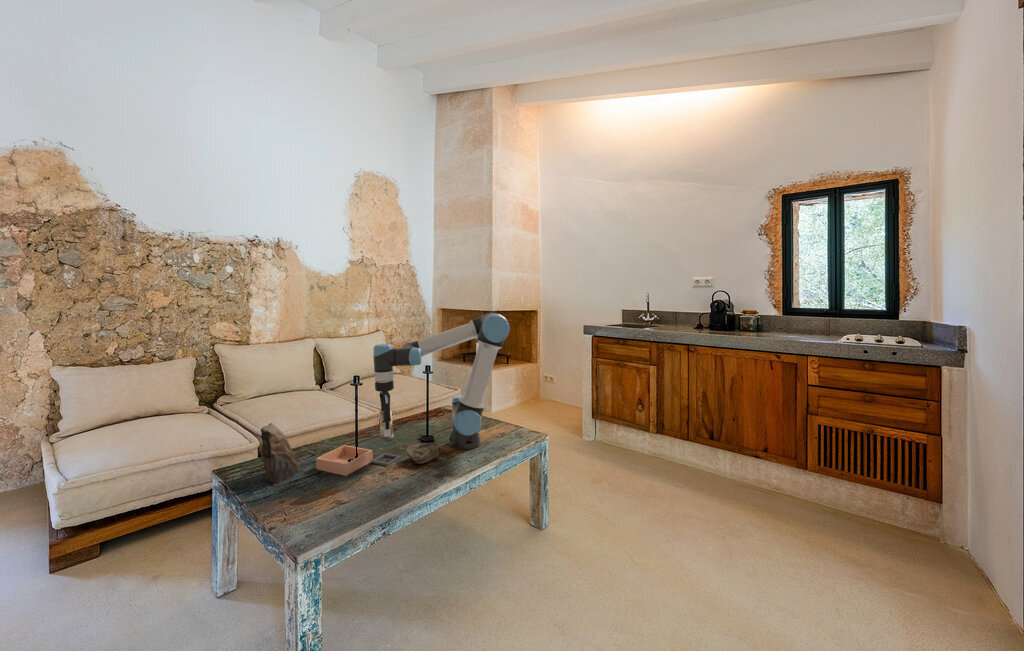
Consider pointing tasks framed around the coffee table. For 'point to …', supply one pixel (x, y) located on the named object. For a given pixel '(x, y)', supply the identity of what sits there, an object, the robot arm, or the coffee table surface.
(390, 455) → the gray square frame
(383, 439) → the beige rounded cylinder
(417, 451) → the stone
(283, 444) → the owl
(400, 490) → the coffee table surface
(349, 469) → the tray
